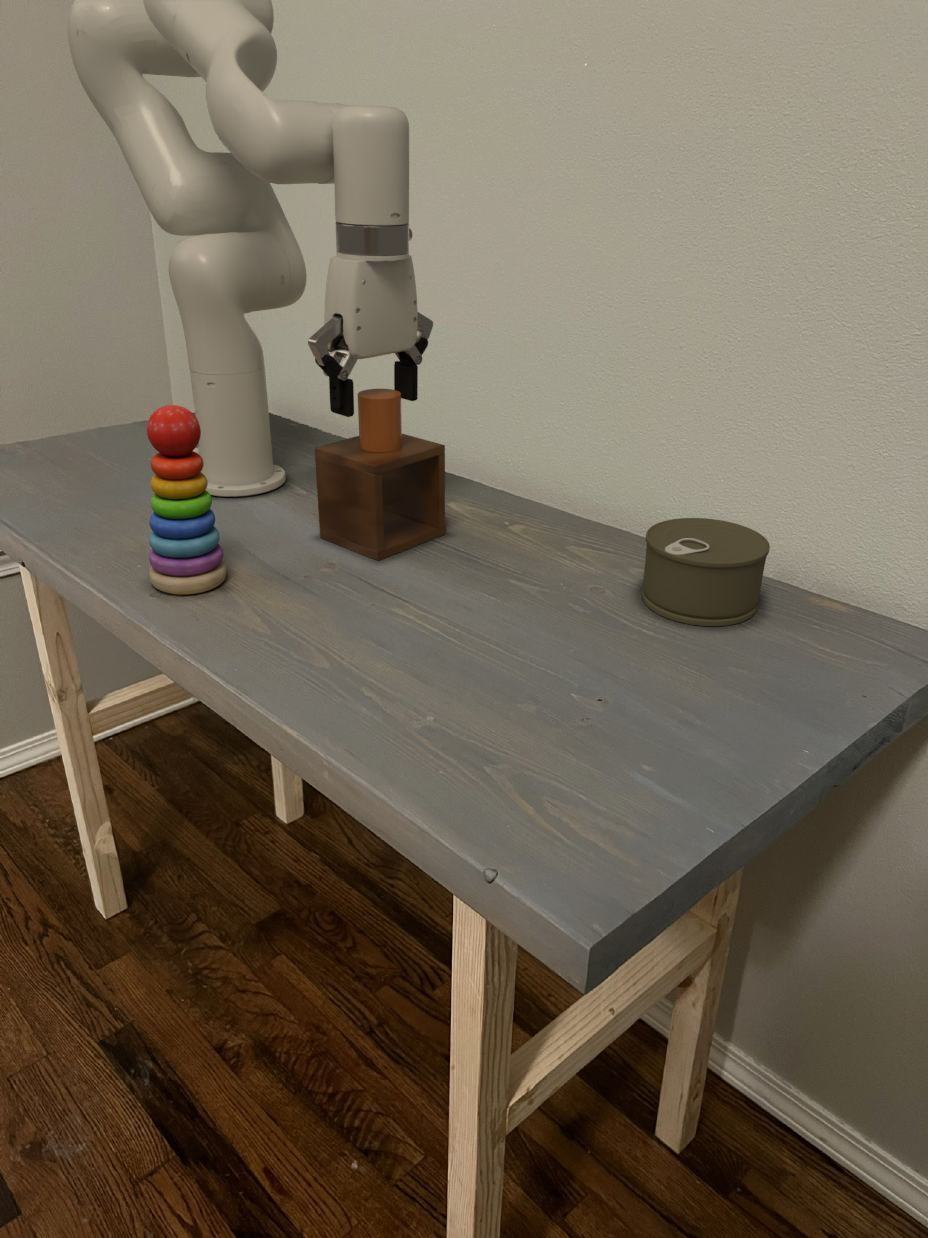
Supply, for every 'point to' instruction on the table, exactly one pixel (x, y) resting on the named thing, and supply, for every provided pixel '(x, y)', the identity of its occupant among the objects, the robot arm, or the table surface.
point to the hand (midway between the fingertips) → (375, 406)
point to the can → (703, 571)
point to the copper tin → (380, 420)
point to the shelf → (381, 495)
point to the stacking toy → (181, 508)
